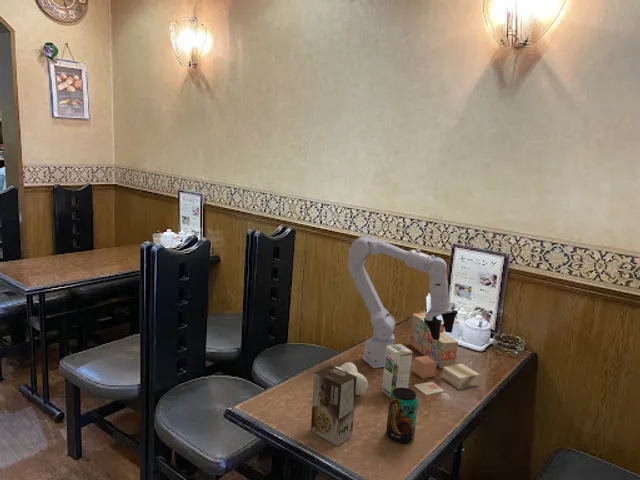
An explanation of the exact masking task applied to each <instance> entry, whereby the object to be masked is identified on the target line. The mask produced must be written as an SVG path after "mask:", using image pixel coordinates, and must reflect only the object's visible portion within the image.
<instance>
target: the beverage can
mask: <svg viewBox="0 0 640 480" xmlns="http://www.w3.org/2000/svg"><path fill="white" fill-rule="evenodd" d="M418 406H419V400H418V397H417V393H416V392H415V391H414V390H413V389H410V388H409V387H408V388H396V389H394V390H393V393H392V394H391V396H390V397H389V401H388V410H387V411H388V412H387V419H386V430H385V431H386V435H387V437H388V438H389V439H390V440H391V441H392V442H394V443H396V444H397V443H398V444H408V443H410V442H411V441H413V440H414V438H415V433H416V424H417V416H418Z"/></svg>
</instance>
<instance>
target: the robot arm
mask: <svg viewBox="0 0 640 480" xmlns="http://www.w3.org/2000/svg"><path fill="white" fill-rule="evenodd" d="M347 251H348V260H347V269H348V271H349V273H350V275H351V278H352V279H353V282H354V283H355V286H356V288H357V290H358V292H359V294H360V296H361V298H362V300H363V302H364V304H365V306H366V309H367V311H368V313H369V314H370V321H371V322H370V323H371V325H372V331H373V335H372V336H371V337H369V338H367V339H366V340H365V342H364V349H363V350H364V351H363V357H362V360H363V361H364V362H366V363H367V364H368V365H369V366H370V367H371V368H373V369H379V368H384V365H385V355H386V347H387V346H389V345H395V335H394V333H393V332H394V330H395V328H396V325H397V322H396V320H395V318H394V316H392V315H391V314H390V313H389V311H388V309H386V308H385V306H384V305H383V303H382V301H381V299H380V297H379V294H378V293H377V291H376V289H375V286H374V284H373V282H372V281H371V278H370V276H369V274H368V272H367V270H366V267H365V264H366V261H367V260H368V259H367V258H368V256H369V255H371V256H374V255H378V254H383V255H386V256H389V257H392V258H395V259H398V260H401V261H403V262H405V263H404V264H405V265H406V267H409V268H412V269H415V270H417V271H418V272H419V271H420V272H423V273H427V275H429V293H430V294H429V295H430V306H431V308H430V309H429V310H428V312H426V313H427V314H425V318H424V322H425V323H426V324H427V326H428V328H429V330H430V332H431V335H432V338H433V339H435V340H439V338H440V326H441V322H442V323H443V324H444V333H450V334H451V333H453V327H454V322H455V319H456V317H457V315H458V310H455V309H456V303H455V302H450V298H449V297H450V296H449V283H448V282H449V281H448V280H447V279H448V276H447V273H448V272H447V270H448V264H447V263H446V261H445V259H443V258H442V257H440V256H435V255H434V254H433V255H429V254H427V253H424V252H421V249H419V248H416V249H410V250H405V249H403V248H400V247H398V246H396V245H394V244H391V243H388V242H386V241H383V240H381V239H379V238H376V237H371V236H369V235H366V234H364V235H360V236H359V237H358V238H357V239H354V240H353V241H352V243H351V245H350V247H349V248H348V250H347ZM440 316H441V318H442V319H438V317H440Z"/></svg>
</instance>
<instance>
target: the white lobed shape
mask: <svg viewBox="0 0 640 480" xmlns="http://www.w3.org/2000/svg"><path fill="white" fill-rule="evenodd" d="M334 367H335V368H338V369H340V370H342V371H345V372H347V373H349V374H352V375H354V376H356V377H357V380H356V393H355V396H362V395H363V394H365V393H366V391H367V390H368V388H369V383H368V380H367V378H366V377H365V376H364V374H362V373H360V372H358V368H357V366H356V364H354V362H345V363H342V365H341V366H334Z"/></svg>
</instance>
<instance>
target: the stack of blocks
mask: <svg viewBox="0 0 640 480" xmlns="http://www.w3.org/2000/svg"><path fill="white" fill-rule="evenodd" d="M427 313H428V312H418V313H412V318H411V329H410V341H409V344H410V345H411V346H412V347H413V348H414V349H416V350H417V352H419V353H420V354H422V356H428V357H430V358H431V359H433V360H434V361H436V362H437V365H436V368H438V369H443V367H446V366H452V365H456V360H457V359H456V358H457V351H458V345H459V341H457V340H456V339H454V338H453V337H452V336H450V335H449V334H447V332H445V328H444V322H443V321H442V322H441V326H440V338H439V340H435V339H433V338H432V335H431V332H430V330H429V328H428V326H427V324H426V323H425V322H424V318H425V314H427Z"/></svg>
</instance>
